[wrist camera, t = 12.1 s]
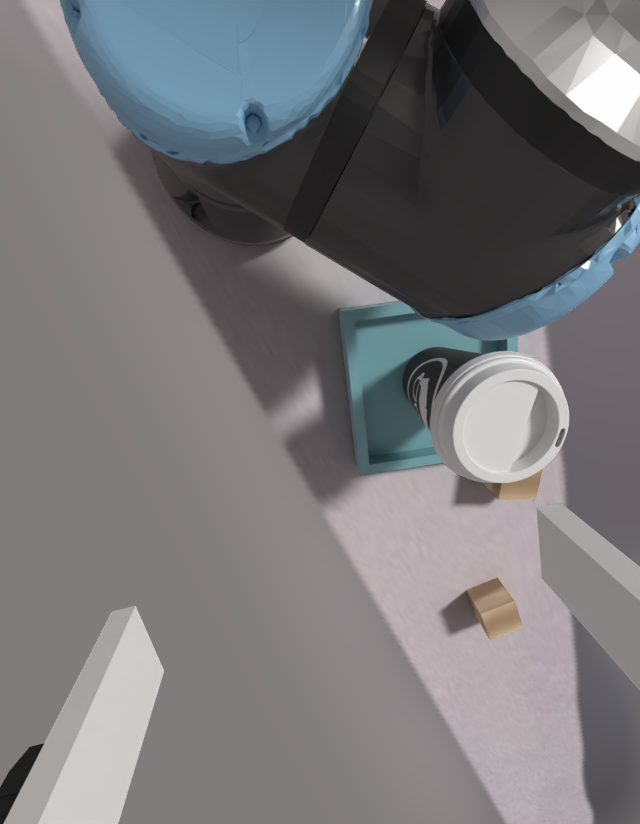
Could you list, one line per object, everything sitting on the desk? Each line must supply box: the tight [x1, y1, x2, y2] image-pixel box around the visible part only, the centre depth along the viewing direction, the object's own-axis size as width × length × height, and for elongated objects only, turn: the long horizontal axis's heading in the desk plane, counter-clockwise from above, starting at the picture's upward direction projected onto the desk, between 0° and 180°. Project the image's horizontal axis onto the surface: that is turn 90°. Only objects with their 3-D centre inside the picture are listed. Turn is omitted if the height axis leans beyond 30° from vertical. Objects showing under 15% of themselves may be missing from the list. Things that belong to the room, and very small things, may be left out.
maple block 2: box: [466, 578, 523, 640], centre depth 50 cm, size 4×4×4 cm
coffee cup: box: [402, 347, 569, 483], centre depth 36 cm, size 10×10×15 cm
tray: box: [338, 301, 518, 476], centre depth 42 cm, size 16×16×3 cm
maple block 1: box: [482, 469, 542, 500], centre depth 45 cm, size 4×4×4 cm
